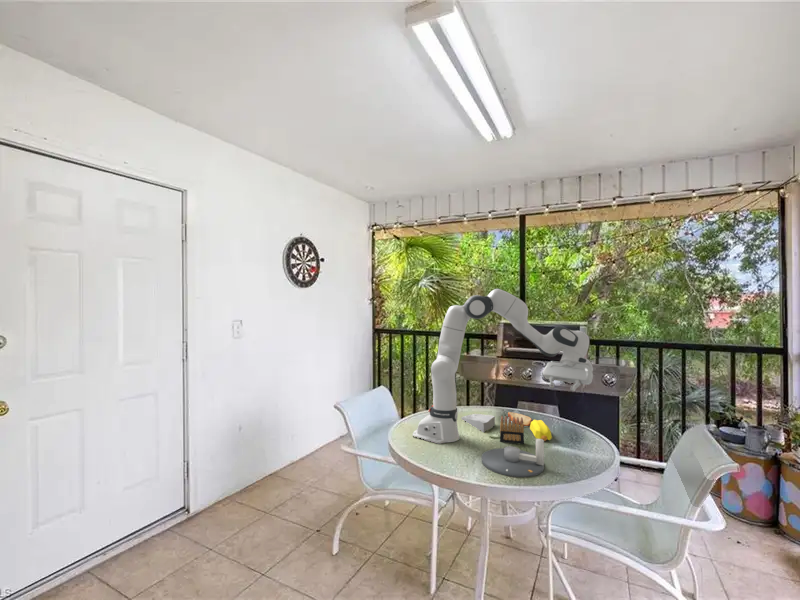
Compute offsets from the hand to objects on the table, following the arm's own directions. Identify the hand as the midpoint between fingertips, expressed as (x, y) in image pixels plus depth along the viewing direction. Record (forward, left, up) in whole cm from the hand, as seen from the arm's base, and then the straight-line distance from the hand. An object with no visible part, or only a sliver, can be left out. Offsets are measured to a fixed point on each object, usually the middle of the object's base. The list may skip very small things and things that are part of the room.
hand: (561, 388), depth 159 cm
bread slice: (-24, +42, -29) cm, 56 cm away
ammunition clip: (-22, +7, -29) cm, 36 cm away
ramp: (-42, +26, -29) cm, 58 cm away
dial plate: (-18, -17, -28) cm, 38 cm away
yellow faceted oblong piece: (-10, +22, -29) cm, 38 cm away
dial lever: (-13, -17, -27) cm, 34 cm away
